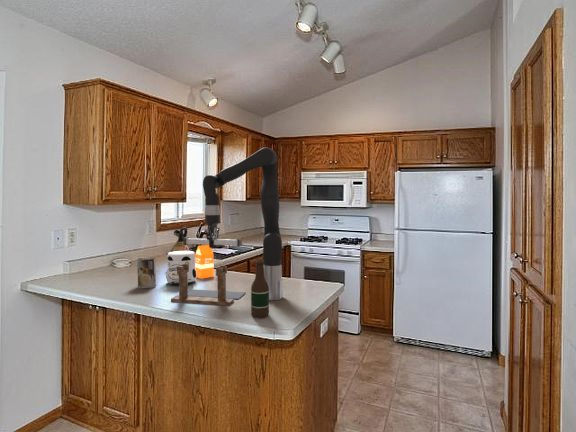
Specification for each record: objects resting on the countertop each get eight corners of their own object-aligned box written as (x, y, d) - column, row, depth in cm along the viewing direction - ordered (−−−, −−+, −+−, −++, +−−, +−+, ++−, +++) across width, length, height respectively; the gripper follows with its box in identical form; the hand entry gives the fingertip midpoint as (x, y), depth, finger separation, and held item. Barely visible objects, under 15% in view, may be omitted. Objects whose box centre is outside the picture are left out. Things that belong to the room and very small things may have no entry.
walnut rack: (233, 301, 179) (233, 266, 178) (229, 305, 173) (229, 268, 172) (177, 298, 185) (176, 263, 184) (170, 301, 179) (170, 266, 178)
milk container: (170, 288, 205) (170, 256, 204) (163, 281, 219) (162, 252, 218) (200, 284, 214) (200, 253, 213) (191, 278, 229) (191, 249, 228)
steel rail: (241, 245, 189) (241, 238, 189) (239, 246, 185) (239, 239, 185) (186, 243, 195) (186, 237, 194) (183, 244, 191) (183, 237, 191)
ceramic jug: (182, 274, 241) (182, 228, 239) (163, 272, 246) (162, 227, 244) (197, 269, 256) (197, 226, 255) (179, 267, 262) (179, 225, 260)
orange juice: (195, 276, 234) (195, 245, 233) (207, 274, 240) (207, 244, 239) (201, 278, 228) (201, 246, 227) (213, 276, 234) (213, 245, 233)
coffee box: (156, 284, 212) (155, 257, 211) (154, 287, 206) (154, 259, 205) (139, 285, 210) (139, 257, 209) (137, 288, 204) (136, 259, 203)
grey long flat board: (245, 293, 194) (245, 292, 194) (238, 299, 183) (238, 298, 183) (189, 290, 201) (189, 289, 201) (179, 296, 189) (179, 295, 189)
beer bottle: (252, 312, 163) (252, 258, 162) (270, 313, 162) (270, 259, 161) (249, 318, 155) (249, 262, 154) (267, 319, 155) (267, 262, 153)
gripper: (213, 214, 182) (214, 249, 183) (224, 213, 195) (224, 245, 196) (199, 214, 183) (200, 249, 184) (210, 213, 197) (211, 245, 198)
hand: (212, 247), depth 190 cm, fingers closed on steel rail, 2 cm apart
